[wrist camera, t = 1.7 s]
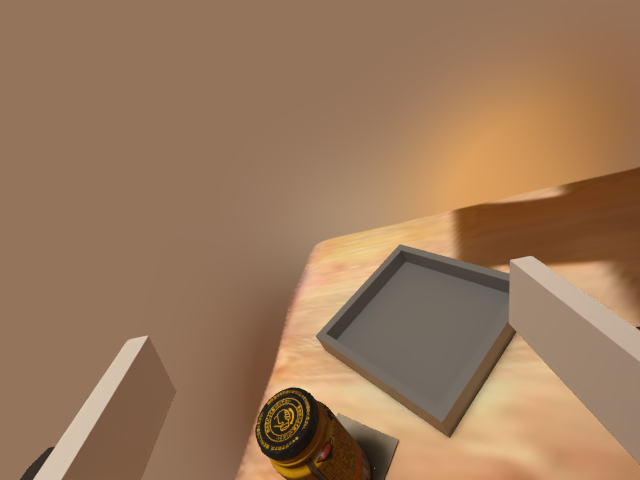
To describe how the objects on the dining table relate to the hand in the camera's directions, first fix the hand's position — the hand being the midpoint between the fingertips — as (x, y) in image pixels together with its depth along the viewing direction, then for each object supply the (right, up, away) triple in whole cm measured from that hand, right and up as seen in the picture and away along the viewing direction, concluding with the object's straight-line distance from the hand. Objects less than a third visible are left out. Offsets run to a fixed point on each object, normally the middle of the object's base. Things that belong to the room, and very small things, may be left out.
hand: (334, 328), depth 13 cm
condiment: (+2, -19, +21) cm, 28 cm away
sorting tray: (+12, -7, +29) cm, 32 cm away
